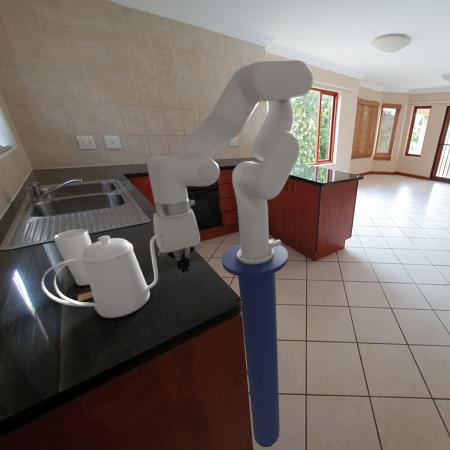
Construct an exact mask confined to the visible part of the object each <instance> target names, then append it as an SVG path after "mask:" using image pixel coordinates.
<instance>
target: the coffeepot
mask: <svg viewBox="0 0 450 450" xmlns="http://www.w3.org/2000/svg"><path fill="white" fill-rule="evenodd" d="M155 242H156V235H155V234H154V235H153V236H152V237H151V238H150V241H149V250H150V255H151V256H150V257H151V262H152V269H153V276H154V277H153V279H154V280H153V281H152V282H151V283H150V284H149V285H147V282H146V280H145V277H144V275H143V271H142V269H141V267H140V263H139V261H138V258H137V257H136V256H137V255H136V254H135V252H134V246H133V243H131V242H129V241H128V240H126V239H125V238H120V237H113V238H111V237H110V235H102V236H99V237H98V238H97V241H95V242H92V244H91V245H89V246H88V247H87V248H86V249H85V250H84V252H83V254H82V256H81V258H76V259H70V260H66V261H64V260H63V261H59V262H58V263H56V264H54V265H52V266H51V267H49V268H48V269H47V270H46V271H45V272H44V274H43V276H42V278H41V281H40V286H41V287H40V288H41V290H42V291H43V293H44V294H45V295H46V296H47V297H48V298H49V299H50V300H53V301H54V302H56V303H58V304H62V305H65V306H70V307H71V306H72V307H82V308H83V307H94V310H95V311H96V313H97V314H98V315H99V316H100V317H102V318H106V319H115V318H116V319H117V318H121V317H125V316H128V315H130V314H133V313H134V312H136V311H138V310H140V309H141V308H143V306H145V304H147V302H148V301H149V299H150V297H151V296H150V295H151V293H150V289H152V288H153V287H155V286H156V285H157V283H158V281H159V272H158V264H157V257H156V250H155ZM79 261H82V262H83V265H84V266H85V268H86V271H87V275H88V279H89V283H90V284H89V287H90V290H91V291H90V292H92V294H93V298H92V299H93V301H94V302H89V301H87V302H86V301H85V302H84V301H81V302H78V300H74V299H72V298H70V297H67V296H66V295H64V294H63V293H62V291H60V289H59V288H58V285H57V281H56V279H57V276H58V274H59V272H60V271H62V270H63V269H64V268H65V267H67V265H68V264H70V263H74V262H79ZM59 266H60V267H59ZM57 267H59V268H58V269H57V271H56V273H54V274H55V275H54V276H53V287H54V291H55V293H56V295H58V297H57V296H55V295H53V294H52V293H51V292H49V290H48V289H47V287H46V286H45V282H44V281H45V276H46V275H47V274H48V273H49V272H51V271H52V270H53V269H55V268H57Z"/></svg>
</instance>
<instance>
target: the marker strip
mask: <svg viewBox="0 0 450 450" xmlns="http://www.w3.org/2000/svg"><path fill="white" fill-rule="evenodd" d="M91 299H94V298H93V294H92V291H88V292H84V293H82V294H79V295H77V301H78V302H84V301H87V300H91Z"/></svg>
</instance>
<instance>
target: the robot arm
mask: <svg viewBox="0 0 450 450" xmlns="http://www.w3.org/2000/svg"><path fill="white" fill-rule="evenodd" d="M313 82H314V77H313V73H312V69H311V68H310V67H309V65H308V64H307V63H306V62H305V61H302V60H298V59H296V60H295V59H294V60H293V59H292V60H267V61H266V60H265V61H263V60H262V61H257V62H253V63H249V64H248V65H247V64H246V65H245V66H242V67H239V68H237V70H236V71H235V72H233V74H232V76H231V78H230V79H229V81H228V83H227V84H226V86H225V88H224V89H223V91H222V93H221V95H219V98H218V100H217V102H216V103H215V105H214V107H213V108H212V110H211V111H210V113H209V114H208V115H207V116H206V117H205V118H204V120H203V121H202V122H201V124H199V126H198V127H197V128H196V129H195V131H194V132H193V133H192V134H191V136H190V137H189V139H188V140H187V141H186V144H185V145H184V147H183V148H182V150H181V152H180V154H179V156H178V157H177V156H170V155H166V156H165V155H164V156H163V155H162V156H160V155H159V156H153V157H149V159H147V161H146V167H147V172H148V177H149V181H150V187H151V193H152V197H153V203H154V206H155V210H156V212H155V213H153V214H152V215H153V218H152V219H153V220H152V221H153V223H152V224H153V233H154V235H156V239H155V243H156V246H157V255H158V257H160V258H162V257H163V258H164V257H169V258H172V259H174V260H175V262H176V268H177V269H178V270H180V271H181V273H182V274H183V273H185V272H189V267H190V266H191V262H190V257H191V254H192V253H193V252H194V250H196V249H199V248H201V247H202V243H201V235H200V234H201V233H200V230H199V227H198V222H197V219H196V215H195V213H194V210H193V209H192V206H195V205H196V202H195V199H190V198H189V193H188V187H209V186H211V185H213V184H214V183H216V182H217V181H218V180H219V178H220V173H221V171H220V166H219V165H218V163H217V162H216V161H215V160H213V158H212V157H213V156H214V154H215V153H216V152H217V151H218V150H219V149H220V147H222V146H223V145H224V144H226V143H228V142H229V141H231V140H233V139H235V138H236V137H238V136H239V135H240V134H241V133H242V131H243V130H244V128H245V126H246V124H247V123H248V121H249V119H250V117H251V115H252V114H253V112H254V110H255V109H256V107H257V106H258V104H259V103H264V102H267V103H268V110H267V112H266V116H265V118H264V120H263V122H262V124H261V126H260V127H259V129H258V131H257V133H256V134H255V137H254V139H253V141H252V144H251V153H252V155H253V156H254V158H255V159H257V160H258V161H260V162H261V163H260V162H256V161H251V160H250V161H249V160H248V161H246V160H245V161H241V162H240V163H238V164H237V165H236V166H235V167H234V169H233V171H232V174H231V181H232V187H233V190H234V196H235V200H236V207H237V208H236V209H237V219H238V220H237V221H238V230H239V241H240V243H239V244H241V249H240V250H239V251H238V252H237V259H238V260H239V261H240V262H242V263H245V264H261V263H265V262H267V261H269V260H270V259H272V258H273V256H274V250H273V249H272V248H274V246H278V245H281V246H282V241H281V240H280V239H276V240H275V239H274V238H270V232H269V230H270V229H269V206H268V201H269V200H272V199H275V198H276V197H277V196H278V195H280V193H281V192H282V190H283V188H284V186H285V185H286V183H287V181H288V179H289V177H290V175H291V172H292V171H293V169H294V167H295V165H296V163H297V161H298V158H299V154H300V144H299V143H300V142H299V140H298V138H297V137H296V135H295V134H294V133H293V132H291V131H292V129H293V127H294V123H295V112H294V107H293V103H292V99H297V98H303V97H305V96H306V95H308V94H309V93H310V91H311V90H312V87H313V84H314V83H313ZM180 250H182V254H180V252H179V251H180Z"/></svg>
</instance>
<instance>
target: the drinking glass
mask: <svg viewBox="0 0 450 450" xmlns="http://www.w3.org/2000/svg"><path fill="white" fill-rule="evenodd" d="M53 240H54V243H55V245H56V248H57V251H58V253H59V255H60V256H61V258H62V260H63V261H66V260H70V259H76V258H81V256H82V254H83V252H84V250H85V249H86V248H87V247H88V246H89V245H91V244H93V242H92V240H91V237H90V235H89V231H88V230H87V229H84V228H78V229H77V228H76V229H70V230H66V231H62V232H60V233H57V234H55V235H54V236H53ZM66 267H67V268H68V270H69V272H70V274H71V276H72V278H73V280H74V282H75V284H76V285H77V286H81V287H82V286H90V283H89V279H88V275H87V271H86V268H85V266H84V265H83V262H82V261H79V262H74V263H70V264H68V265H67V266H66Z"/></svg>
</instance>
